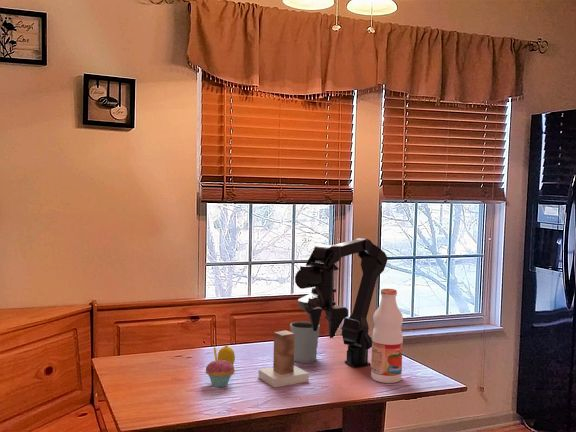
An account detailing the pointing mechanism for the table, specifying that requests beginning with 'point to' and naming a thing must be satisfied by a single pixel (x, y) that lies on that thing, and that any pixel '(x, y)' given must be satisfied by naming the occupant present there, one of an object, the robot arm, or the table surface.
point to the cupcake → (219, 371)
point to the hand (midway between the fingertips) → (323, 334)
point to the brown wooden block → (283, 352)
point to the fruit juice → (387, 340)
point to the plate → (283, 377)
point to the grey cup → (304, 341)
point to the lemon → (226, 354)
